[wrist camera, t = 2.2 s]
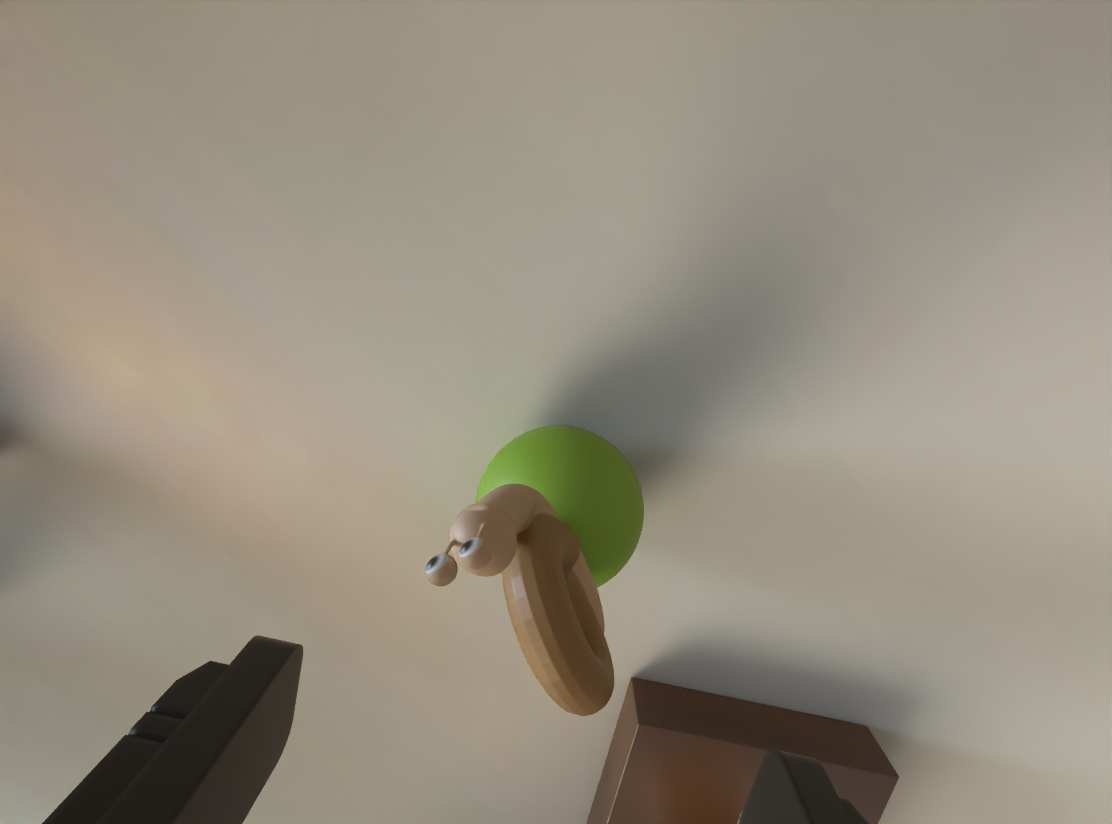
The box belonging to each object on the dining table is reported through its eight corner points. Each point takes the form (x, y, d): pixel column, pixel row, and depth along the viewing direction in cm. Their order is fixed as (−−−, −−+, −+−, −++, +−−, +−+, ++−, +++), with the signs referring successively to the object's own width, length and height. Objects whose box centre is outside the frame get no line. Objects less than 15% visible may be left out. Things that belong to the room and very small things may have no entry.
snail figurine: (580, 357, 21) (597, 483, 9) (658, 508, 22) (757, 782, 11) (446, 425, 22) (307, 622, 10) (530, 568, 23) (493, 885, 11)
